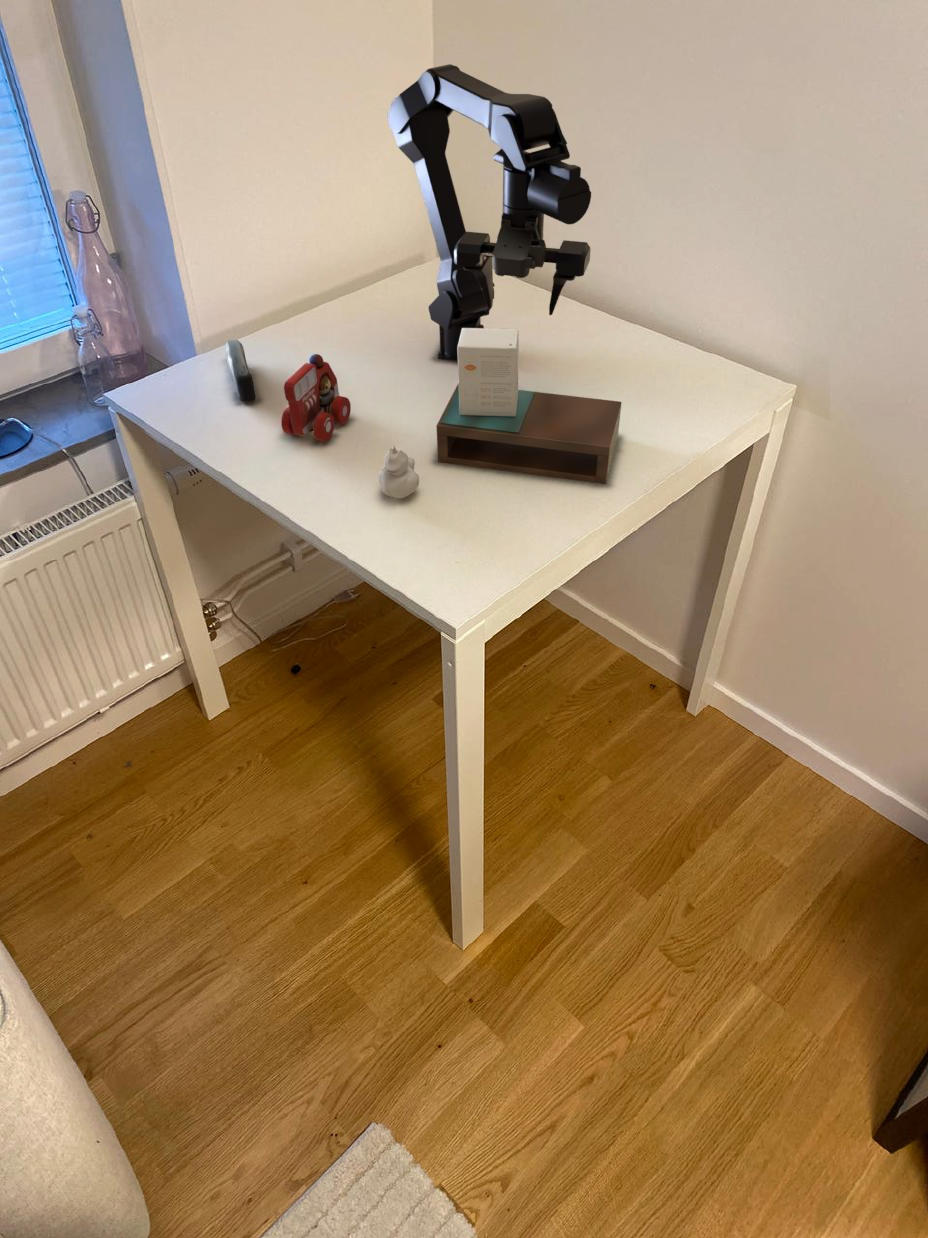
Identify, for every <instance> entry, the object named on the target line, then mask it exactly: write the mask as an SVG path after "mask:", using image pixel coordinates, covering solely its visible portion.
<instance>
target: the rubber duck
mask: <svg viewBox="0 0 928 1238" xmlns="http://www.w3.org/2000/svg"><path fill="white" fill-rule="evenodd" d="M415 461H416V460H415V459H414V458H413V457H410V456H408V454H407V453H405V452H404V451H403V450H402V449H401V450H399V449H397V448H396V446H395V445H393V446H392V447H390V448H389V449H388V451H387V453H386V455H385V457H384V467H383V468H382V469H381V470H380V471H379V474H378V481H379V485H380V486H381V490H382V493H383V494H385V496H388V497H391V498H394V499H405V498H407V497H408V496H409V495H411V494H413V493H414V492H415V491H416V490H417V488H418V487H419V485H420V476H419V474H418V473H417V472H415V465H416V462H415Z"/></svg>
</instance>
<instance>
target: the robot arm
mask: <svg viewBox="0 0 928 1238" xmlns="http://www.w3.org/2000/svg"><path fill="white" fill-rule="evenodd" d="M389 107H390V108H389V109H388V112H387V122H388V126H389V129H390V130H391V132H392V134H393V137H394V139H395V143H396V145H397V148H398V149H399V150H400V151H401V152H402V153H403V154H404V155H405V156H406V157H407V159H409V161H411V162H412V164H413V166H414V169H415V173H416V178H417V181H418V183H419V188H420V191H421V195H422V199H423V202H424V205H425V209H426V212H427V216H428V220H429V224H430V227H431V230H432V234H433V238H434V241H435V245H436V248H437V252H438V255H439V256H438V257H439V259H440V265H439V270H438V274H437V279H436V287H437V288H436V289H437V292H438V295H437V297H436V298H435V299H434V300H433V301H432V302H431V303H430V304H429V305H428V312H429V316H430V320H431V321H432V322H434V323H435V324H437V325H438V327H439V351H438V353H437V355H436V358H437V359H438V360H443V361H453V362H458V352H457V347H458V342H459V338H460V334H461V330H462V328H485V326H484V324H482V323H481V321H482V320H481V318H482V317H485V316H486V317H487V316H489V315H490V311H491V310H492V308H493V306H494V305H493V304H494V299H495V286H496V285H495V283H494V276H493V275H494V274H495V275H496V276H498V277H505V276H506V277H516V278H518V279H523V278H524V279H525V278H526V277H528V276H529V274H530V271H531V270H535V269H536V268H543V267H544V263H548V264H555V272H554V274H553V276H552V288H551V293H550V300H549V304H548V305H549V306H548V315H549V316H553V314H554V311H555V308H556V306H557V303H558V301H559V299H560V295H561V293H562V290H563V288H564V287H565V284H566V283H567V282H572V281H575V279H576V278H577V277H578V278H579V277H583V276H584V275H585V273H586V271H587V268H588V266H589V264H590V262H591V246H590V245H589V243H588V242H587V241H576V240H566V239H563V240H562V242H561V244H560V247H559V248H556V247H555V248H554V247H547V245H546V241H545V239H544V226H545V225H544V224H545V223H544V221H545V216H547V217H550V218H552V219H554V220H555V221H558V222H560V223H563V224H565V225H574V224H576V223H578V222H580V220H581V219H583V217H584V216H585V214H586V213H587V211H588V209H589V207H590V204H591V199H592V191H591V188H590V185H589V183H588V181H587V180H586V179H585V178H583V177H582V175H581V174H582V168H581V166H579V165H576V164H569V163H567V162H564V161H566V160H568V159H570V156H571V154H570V151H569V148H568V142H567V139H566V137H565V136H564V133H563V131H562V128H561V126H560V123H559V120H558V117H557V114H556V111H555V109H554V108H553V103H552V102H551V101H550V100H549V99H548V98H547V97H545V96H542V95H536V94H531V93H509V92H505V91H503V90H501V89H499V88H497V87H495V86H493V85H491V84H488V83H487V82H484V81H483V80H481V79H478V78H476V77H474V76H472V75H471V74H468V73H466V72H464V71H462V70H461V69H460V68H459V67H458V66H457V65H454V64H450V63H449V64H444V65H439V66H433V67H430V68H427V69H426V70H425V71H424V72H422V74H421V75H420V76H419V78H418V79H417V80H416V81H415V82H414V83H412V84H411V85H410V86H409V87H407V88H406V89H405V90H403V91H402V92H400V93H399V94H398V96H397V97H395V98H394V99H393V100H392V101H391V104H390V106H389ZM453 112H456V113H458V114H460V115H462V116H464V117H466V118H468V119H469V120H472V121H473V122H475V123H477V124H479V125H481V126H482V127H484V128H486V129H487V130H488V135H489V139H490V140H491V141H492V142H493V143H494V144H495V145H496V146H498V147H499V148H500V149H499V150H498V151H497V152H495V153H494V155H493V156H492V159H493V161H494V162H497V163H499V164H501V165H502V166H503V167H502V213H501V218H500V219H501V220H500V228H499V231H498V234H497V237H496V242H491V236H490V234H489V233H487V232H475V231H467V230H466V227H465V223H464V219H463V216H462V211H461V207H460V204H459V200H458V197H457V193H456V189H455V185H454V182H453V177H452V174H451V171H450V167H449V163H448V159H447V154H446V151H447V146H448V143H449V138H450V133H451V129H450V123H449V117H450V116H451V115H452V113H453ZM547 145H548V146H549V147H546V148H542V149H539V150H535V151H531V152H529V151H528V150H532V149H536V148H539V147H543V146H544V147H545V146H547ZM493 270H494V273H493Z"/></svg>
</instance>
